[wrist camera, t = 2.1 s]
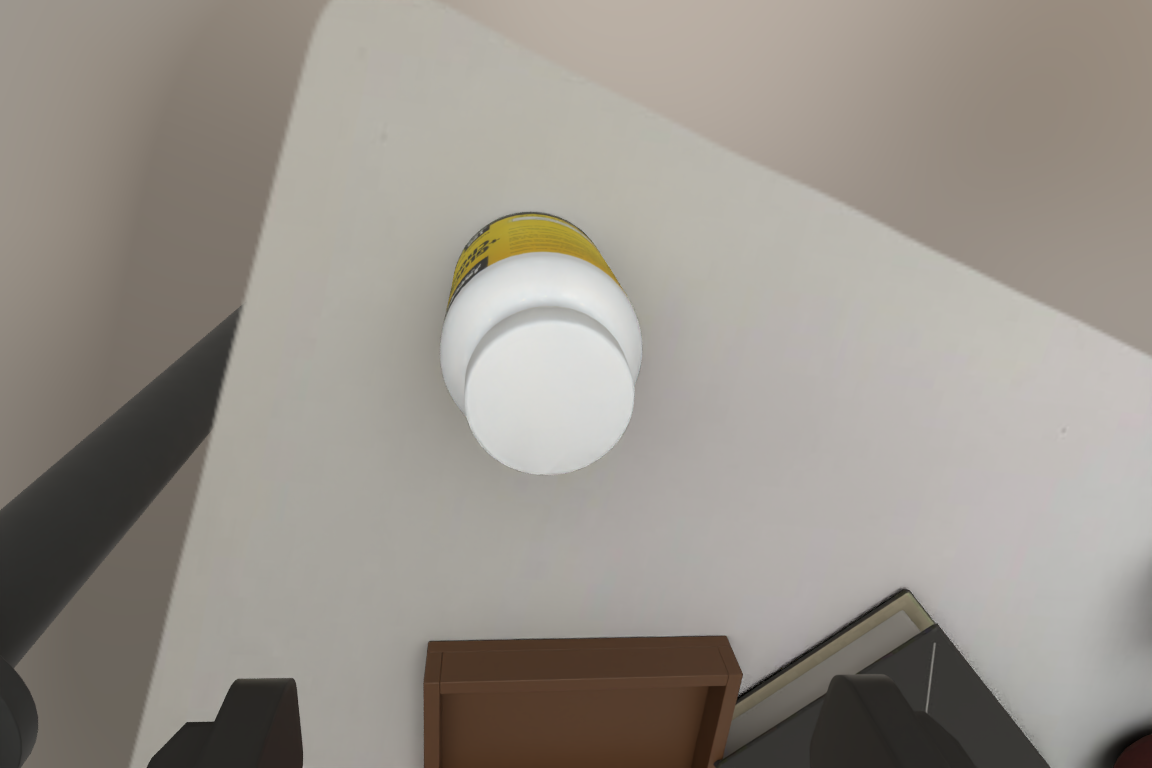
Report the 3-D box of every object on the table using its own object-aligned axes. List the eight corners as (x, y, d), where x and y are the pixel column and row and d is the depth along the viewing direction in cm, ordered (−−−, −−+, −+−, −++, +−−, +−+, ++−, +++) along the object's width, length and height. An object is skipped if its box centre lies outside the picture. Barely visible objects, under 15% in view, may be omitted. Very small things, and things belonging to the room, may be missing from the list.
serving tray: (428, 777, 40) (424, 823, 37) (428, 641, 36) (423, 683, 33) (697, 764, 42) (710, 808, 40) (726, 635, 38) (743, 674, 35)
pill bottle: (505, 176, 27) (513, 233, 16) (634, 263, 29) (716, 364, 18) (424, 309, 29) (383, 438, 18) (551, 382, 31) (581, 536, 20)
